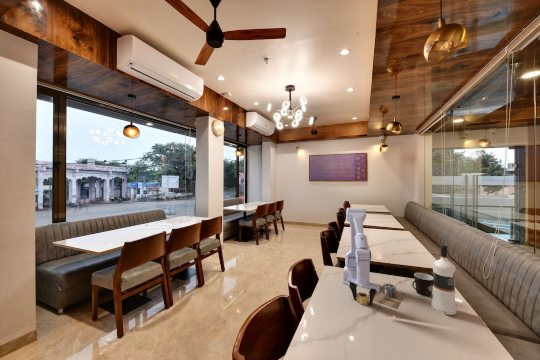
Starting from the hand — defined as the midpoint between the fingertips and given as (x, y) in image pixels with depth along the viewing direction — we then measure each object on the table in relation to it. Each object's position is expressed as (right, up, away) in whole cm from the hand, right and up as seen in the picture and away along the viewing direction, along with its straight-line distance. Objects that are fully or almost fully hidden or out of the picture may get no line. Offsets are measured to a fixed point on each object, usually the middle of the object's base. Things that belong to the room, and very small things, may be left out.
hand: (362, 301), depth 111 cm
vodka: (+35, -2, -5) cm, 36 cm away
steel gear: (+16, 0, +7) cm, 18 cm away
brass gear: (0, -1, 0) cm, 1 cm away
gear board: (+15, -1, +5) cm, 15 cm away
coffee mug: (+33, -2, +8) cm, 34 cm away
